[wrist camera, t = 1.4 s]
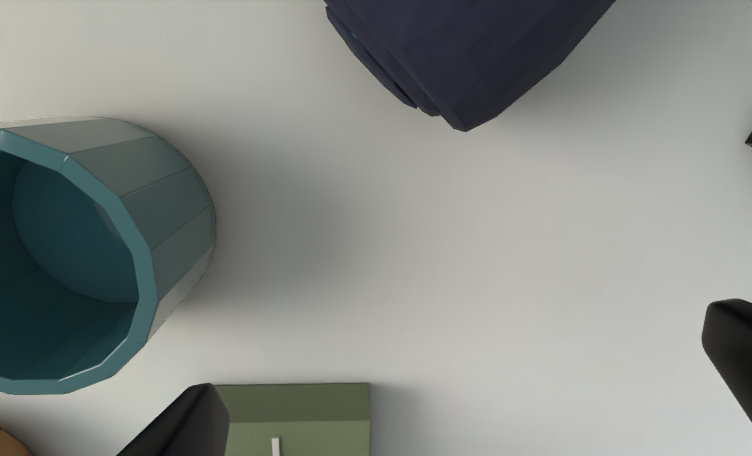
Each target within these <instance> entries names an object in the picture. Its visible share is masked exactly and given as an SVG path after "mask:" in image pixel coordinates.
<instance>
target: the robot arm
mask: <svg viewBox="0 0 752 456" xmlns="http://www.w3.org/2000/svg"><path fill="white" fill-rule="evenodd" d="M702 345H703V348H704V350H705V352H706V354H707V355H708V357H709V358H710V360H711V361H712V363H713V364H714V366H715V367H716V369H717V370H718V372H719V374H720V375H721V377H722V378H723V380H724V381H725V383H726V384H727V386H728V387H729V389H730V390H731V392H732V393H733V395H734V396H735V398H736V399H737V401H738V402H739V404H740V405H741V407H742V408H743V410H744V411H745V413H746V414H747V416H748V417H749V419H750V421H751V422H752V303H750V302H748V301H745V300H742V299H727V300H721V301H715V302H712V303H710V304H709V306H708V307H707V310H706V316H705V321H704V326H703V332H702ZM229 425H230V416H229V411H228V409H227V407H226V405H225V404H224V402H223V400H222V398H221V396H220V395H219V393H218V391H217V389H216V387H215V386H214V385H213V384H211V383H205V384H199V385H193V386H190V387H188V388H187V389H186V390H185V391H184V392H183V393H182V394H181V395H180V396H179V397H178V398H176V399H175V400H174V401H173V402H172V403H171V404H170V405H169V406H168V407H167V408H166V409H165V410H164V411H163V412H162V413H161V414H160V415H159V416H157V417H156V418H155V419H154V420H153V421H152V422H151V423H150V424H149V425H148V426H147V427H146V428H145V429H144V430H143V431H142V432H141V433H139V434H138V435H137V436H136V437H135V438H134V439H133V440H132V441H131V442H130V443H129V444H128V445H127V446H126V447H125V448H124V449H123V450H122V451H120V452H119V453H118V454H117V455H116V456H225V450H226V443H227V437H228V431H229Z"/></svg>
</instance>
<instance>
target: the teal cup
mask: <svg viewBox="0 0 752 456" xmlns="http://www.w3.org/2000/svg"><path fill="white" fill-rule="evenodd" d="M215 237H216V220H215V214H214V208H213V205H212V202H211V198H210V195H209V193H208V191H207V189H206V187H205V184H204V183H203V181H202V179H201V178H200V176H199V174H198V173H197V171H196V170H195V169H194V168H193V166H192V165H191V164H190V162H189V161H188V160H187V159H186V158H185V157H184V156H183V155H182V154H181V153H180V152H179V151H178V150H177V149H176V148H174V147H173V146H172V145H171V144H169V143H168V142H167V141H165V140H164V139H162V138H161V137H159V136H158V135H156V134H154V133H153V132H151V131H148V130H146V129H144V128H142V127H140V126H137V125H134V124H132V123H129V122H126V121H121V120H117V119H112V118H103V117H61V118H47V119H34V120H21V121H8V122H0V392H4V393H7V394H13V395H43V394H66V393H67V394H68V393H71V392H73V391H76V390H79V389H81V388H84V387H87V386H89V385H92V384H95V383H97V382H100V381H103V380H105V379H108V378H111V377H112V376H114V375H115V374H116V373H117V372H118V371H119V370H120V369H122V368H123V367H124V366H125V365H126V364H127V363H128V362H129V361H130V360H131V359H132V358H133V357H134V356H135V355H136V354H137V353H138V352H139V351H140V350H141V349H142V348H143V347H144V346H145V345H146V343H147V342H148V341H149V340H150V339H151V337H152V336H153V335H154V334H155V333H156V331H157V330H158V329H159V328H160V327H161V325H162V324H163V323H164V322H165V321H166V319H167V318H168V317H169V316H170V315H171V313H172V312H173V311H174V310H175V309H176V307H177V306H178V305H179V304H180V303H181V301H182V300H183V299H184V298H185V297H186V295H187V294H188V293H189V292H190V291H191V289H192V288H193V287H194V286H195V285H196V283H197V282H198V281H199V280H200V279H201V277H202V275H203V273H204V270H205V269H206V267H207V265H208V263H209V261H210V259H211V256H212V253H213V249H214V245H215Z"/></svg>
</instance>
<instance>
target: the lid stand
mask: <svg viewBox="0 0 752 456" xmlns="http://www.w3.org/2000/svg"><path fill="white" fill-rule="evenodd" d="M0 456H32V454H31V453H30V452H29V450H28V449H27V448H26V447H25V446H24V445H23V444H22V443H21V442H19V441H18V440H17V439H16V438H14V437H13V436H11V435H10V434H8V433H6V432H5V431H3V430H1V429H0Z"/></svg>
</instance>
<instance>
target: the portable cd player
mask: <svg viewBox="0 0 752 456" xmlns="http://www.w3.org/2000/svg"><path fill="white" fill-rule="evenodd" d="M745 143H746V144H748V145H750V146H752V133H751V134H750V136H749V137H748V139H747V140H746V142H745Z"/></svg>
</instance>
